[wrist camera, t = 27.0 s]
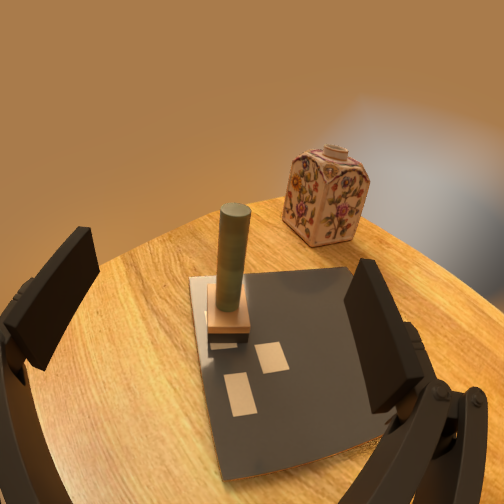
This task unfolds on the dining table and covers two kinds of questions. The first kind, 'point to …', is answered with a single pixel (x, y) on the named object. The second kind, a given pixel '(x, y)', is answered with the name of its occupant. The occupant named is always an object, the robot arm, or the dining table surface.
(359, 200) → the decorative jar
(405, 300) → the dining table surface
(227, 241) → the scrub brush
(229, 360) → the tile
